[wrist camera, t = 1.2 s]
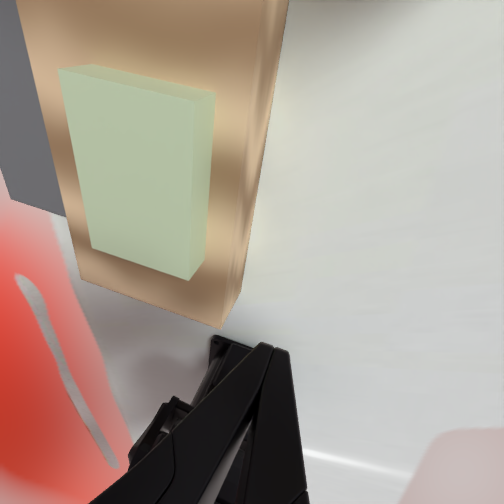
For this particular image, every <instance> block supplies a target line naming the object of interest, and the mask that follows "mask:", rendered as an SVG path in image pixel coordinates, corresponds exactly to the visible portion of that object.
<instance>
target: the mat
mask: <svg viewBox="0 0 504 504" xmlns="http://www.w3.org/2000/svg"><path fill="white" fill-rule="evenodd" d="M0 168H1V171H2V174H3V177H4V180H5V183H6V186H7V188H8V192H9V195H10V198H11V199H12V200H15V201H18V202H22V203H25V204H27V205H31V206H34V207H37V208H40V209H43V210H46V211H49V212H52V213H55V214H58V215H61V216H64V217H66V213H65V209H64V204H63V200H62V196H61V191H60V187H59V183H58V179H57V174H56V170H55V166H54V162H53V157H52V153H51V149H50V145H49V140H48V136H47V132H46V128H45V123H44V119H43V115H42V111H41V106H40V102H39V98H38V93H37V89H36V85H35V81H34V76H33V72H32V68H31V64H30V59H29V55H28V51H27V47H26V42H25V38H24V34H23V30H22V25H21V21H20V17H19V13H18V8H17V4H16V0H0Z"/></svg>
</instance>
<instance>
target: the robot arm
mask: <svg viewBox="0 0 504 504" xmlns="http://www.w3.org/2000/svg"><path fill="white" fill-rule="evenodd" d="M168 432H169V433H168ZM128 458H129V463H130V466H129V468H128V472H127V473H126V474H124V475H123V476H122V477H121V478H120V479H119V480H117V481H116V482H115V483H113V485H111V486H110V487H109V488H107V489H106V490H105V491H104V492H103V493H101V494H100V495H99V496H97V497H96V498H95V499H94V500H92V501H91V502H90V503H89V504H310V503H309V496H308V492H307V491H306V489H307V482H306V474H305V467H304V460H303V452H302V445H301V437H300V430H299V422H298V415H297V408H296V400H295V393H294V385H293V378H292V370H291V363H290V355H289V352H288V351H286V350H283V349H281V348H278V347H275V348H274V347H273V346H272V345H270V344H267V343H264V342H260V343H259V344H258V345H257V346H256V347H255V348H251V347H248V346H246V345H243V344H240V343H237V342H235V341H232V340H229V339H226V338H224V337H221V336H218V335H215V336H213V338H212V340H211V347H210V356H209V366H208V371H207V373H206V375H205V377H204V379H203V381H202V383H201V385H200V387H199V389H198V391H197V393H196V395H195V397H194V399H193V401H192V403H191V405H189V404H187V403H185V402H183V401H181V400H179V398H178V397H175V396H173V397H172V398H171V400H170V401H169V403H163V404H162V405H161V407H160V409H159V410H158V412H157V414H156V416H155V417H154V419H153V421H152V422H151V423H150V425H149V426H148V427H147V429H146V430H145V431H144V433H143V434H142V435H141V436H140V438H139V439H138V440H137V442H136V443H135V444H134V445H133V447H132V448H131V450H130V452H129V454H128Z"/></svg>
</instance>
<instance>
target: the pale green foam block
mask: <svg viewBox="0 0 504 504" xmlns="http://www.w3.org/2000/svg"><path fill="white" fill-rule="evenodd" d="M57 70H58V75H59V80H60V85H61V90H62V96H63V101H64V106H65V111H66V116H67V122H68V127H69V132H70V137H71V142H72V147H73V153H74V158H75V163H76V168H77V173H78V179H79V184H80V189H81V194H82V199H83V204H84V210H85V215H86V220H87V225H88V230H89V236H90V241H91V246H92V248H93V249H96V250H99V251H102V252H105V253H108V254H111V255H114V256H117V257H120V258H123V259H126V260H129V261H132V262H134V263H137V264H140V265H143V266H146V267H149V268H152V269H155V270H158V271H161V272H164V273H167V274H170V275H173V276H176V277H179V278H181V279H184V280H187V281H189V280H190V279H191V277H192V276H193V275H194V273H195V272H196V271H197V269H198V268H199V267H200V265H201V264H202V263H203V261H204V260H205V246H206V231H207V216H208V202H209V187H210V173H211V158H212V143H213V129H214V114H215V100H216V93H215V92H211V91H207V90H202V89H198V88H194V87H189V86H185V85H181V84H176V83H172V82H168V81H164V80H159V79H155V78H151V77H146V76H142V75H138V74H133V73H129V72H125V71H120V70H116V69H112V68H107V67H103V66H99V65H94V64H88V65H80V66H73V67H66V68H58V69H57Z"/></svg>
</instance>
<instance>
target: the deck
mask: <svg viewBox="0 0 504 504" xmlns="http://www.w3.org/2000/svg"><path fill="white" fill-rule="evenodd" d="M16 4H17V8H18V13H19V17H20V21H21V25H22V30H23V34H24V38H25V42H26V47H27V51H28V55H29V59H30V64H31V68H32V72H33V76H34V81H35V85H36V89H37V93H38V98H39V102H40V106H41V111H42V115H43V119H44V123H45V128H46V132H47V136H48V140H49V145H50V149H51V153H52V157H53V162H54V166H55V170H56V174H57V179H58V183H59V187H60V191H61V196H62V200H63V204H64V209H65V213H66V217H67V221H68V226H69V230H70V234H71V238H72V243H73V247H74V251H75V255H76V260H77V264H78V268H79V272H80V277H81V279H82V280H84V281H87V282H90V283H93V284H96V285H98V286H101V287H104V288H107V289H109V290H112V291H115V292H118V293H120V294H123V295H126V296H129V297H132V298H134V299H137V300H140V301H143V302H145V303H148V304H151V305H154V306H156V307H159V308H162V309H165V310H168V311H170V312H173V313H176V314H179V315H181V316H184V317H187V318H190V319H193V320H195V321H198V322H201V323H204V324H206V325H209V326H212V327H215V328H217V329H220V330H221V328H222V326H223V324H224V322H225V320H226V318H227V317H228V315H229V313H230V311H231V309H232V307H233V305H234V303H235V301H236V299H237V298H238V296H239V294H240V292H241V286H242V280H243V274H244V268H245V262H246V256H247V250H248V244H249V238H250V232H251V226H252V220H253V214H254V208H255V202H256V196H257V190H258V184H259V178H260V172H261V166H262V160H263V154H264V148H265V142H266V136H267V130H268V124H269V118H270V112H271V106H272V100H273V94H274V88H275V82H276V76H277V70H278V64H279V58H280V52H281V46H282V40H283V34H284V28H285V22H286V16H287V10H288V4H289V0H16ZM88 64H94V65H99V66H103V67H107V68H112V69H116V70H120V71H125V72H129V73H133V74H138V75H142V76H146V77H151V78H155V79H159V80H164V81H168V82H172V83H176V84H181V85H185V86H189V87H194V88H198V89H202V90H207V91H211V92H215V93H216V100H215V114H214V129H213V143H212V158H211V173H210V187H209V202H208V216H207V231H206V246H205V260H204V261H203V263H202V264H201V265H200V267H199V268H198V269H197V271H196V272H195V273H194V275H193V276H192V277H191V279H190V280H189V281H187V280H184V279H181V278H179V277H176V276H173V275H170V274H167V273H164V272H161V271H158V270H155V269H152V268H149V267H146V266H143V265H140V264H137V263H134V262H132V261H129V260H126V259H123V258H120V257H117V256H114V255H111V254H108V253H105V252H102V251H99V250H96V249H93V248H92V246H91V241H90V236H89V230H88V225H87V220H86V215H85V210H84V204H83V199H82V194H81V189H80V184H79V179H78V173H77V168H76V163H75V158H74V153H73V147H72V142H71V137H70V132H69V127H68V122H67V116H66V111H65V106H64V101H63V96H62V90H61V85H60V80H59V75H58V70H57V69H58V68H66V67H73V66H80V65H88Z"/></svg>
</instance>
